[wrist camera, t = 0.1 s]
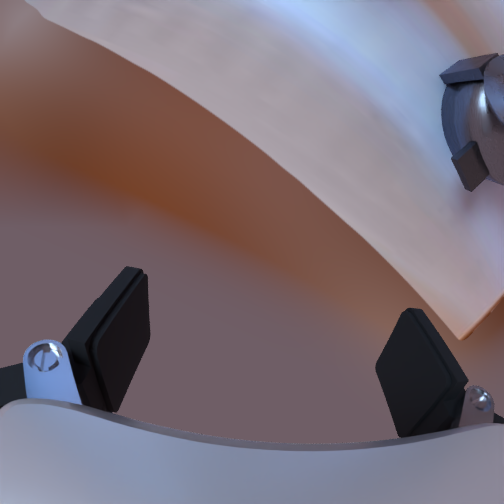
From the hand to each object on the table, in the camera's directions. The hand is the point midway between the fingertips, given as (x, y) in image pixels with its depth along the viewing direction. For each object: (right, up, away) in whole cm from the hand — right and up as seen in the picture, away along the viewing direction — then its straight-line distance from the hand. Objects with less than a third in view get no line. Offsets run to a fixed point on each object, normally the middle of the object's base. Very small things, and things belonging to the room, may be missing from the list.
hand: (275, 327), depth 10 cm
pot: (+37, +24, +22) cm, 49 cm away
